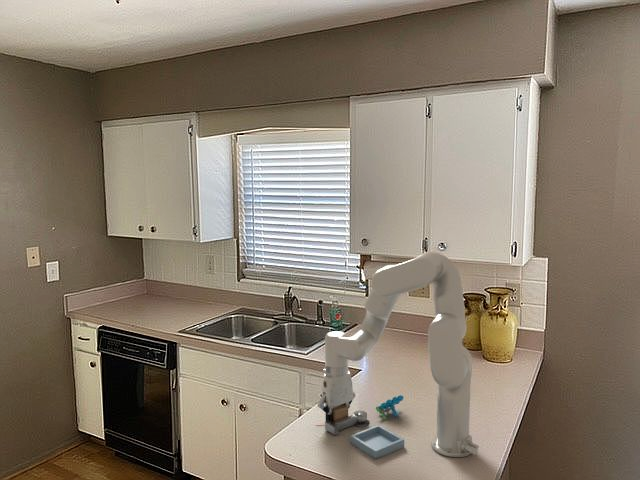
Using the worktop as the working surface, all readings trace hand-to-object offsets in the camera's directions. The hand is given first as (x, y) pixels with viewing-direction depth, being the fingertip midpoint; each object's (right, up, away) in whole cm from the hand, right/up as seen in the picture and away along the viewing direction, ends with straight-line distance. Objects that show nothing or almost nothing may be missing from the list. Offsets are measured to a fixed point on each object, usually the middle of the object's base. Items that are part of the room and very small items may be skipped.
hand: (337, 421), depth 175 cm
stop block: (0, -1, 0) cm, 1 cm away
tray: (+12, -2, -15) cm, 19 cm away
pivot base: (+2, -1, -1) cm, 3 cm away
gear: (+18, 0, +6) cm, 19 cm away
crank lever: (+3, -1, -3) cm, 4 cm away
